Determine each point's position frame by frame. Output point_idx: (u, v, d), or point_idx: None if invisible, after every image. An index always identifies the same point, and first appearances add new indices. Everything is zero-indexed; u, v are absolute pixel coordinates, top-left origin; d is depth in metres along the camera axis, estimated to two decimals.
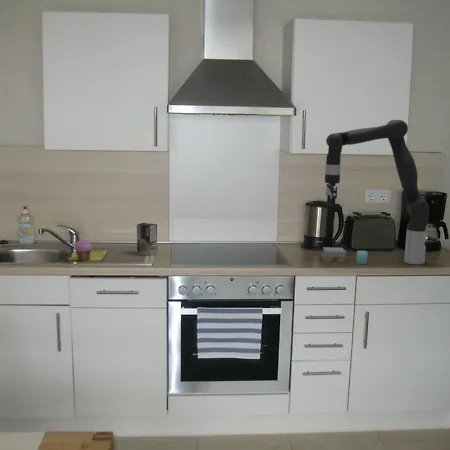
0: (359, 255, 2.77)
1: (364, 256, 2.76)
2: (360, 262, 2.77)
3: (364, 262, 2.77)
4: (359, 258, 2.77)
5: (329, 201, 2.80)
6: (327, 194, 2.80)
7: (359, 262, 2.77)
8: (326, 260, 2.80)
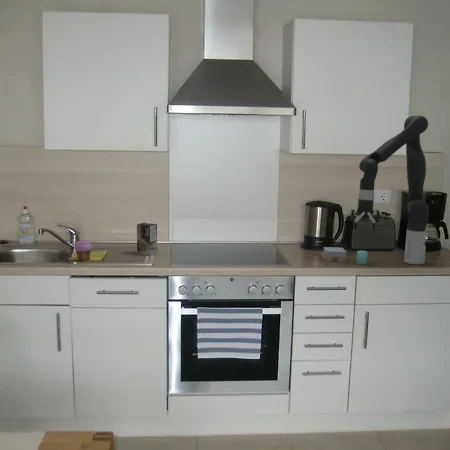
0: (359, 255, 2.77)
1: (364, 256, 2.76)
2: (360, 262, 2.77)
3: (364, 262, 2.77)
4: (359, 258, 2.77)
5: None
6: (357, 220, 2.74)
7: (359, 262, 2.77)
8: (326, 260, 2.80)
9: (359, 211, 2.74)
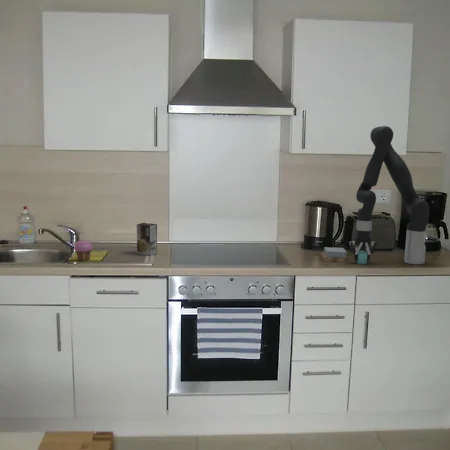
0: (359, 255, 2.77)
1: (364, 256, 2.76)
2: (360, 262, 2.77)
3: (364, 262, 2.77)
4: (359, 258, 2.77)
5: None
6: (357, 251, 2.77)
7: (359, 262, 2.77)
8: (326, 260, 2.80)
9: (357, 241, 2.76)
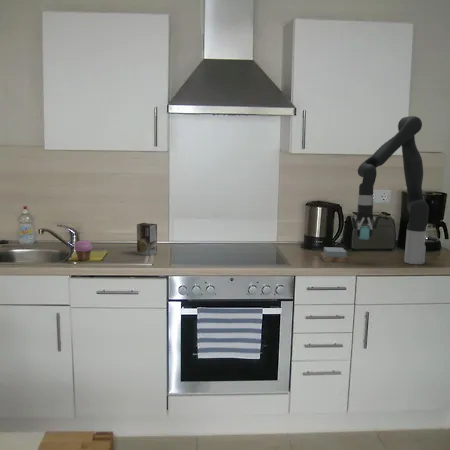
0: (361, 230, 2.74)
1: (366, 231, 2.74)
2: (362, 237, 2.75)
3: (366, 237, 2.74)
4: (361, 233, 2.75)
5: None
6: (359, 226, 2.75)
7: (361, 237, 2.75)
8: (326, 260, 2.80)
9: (359, 216, 2.74)
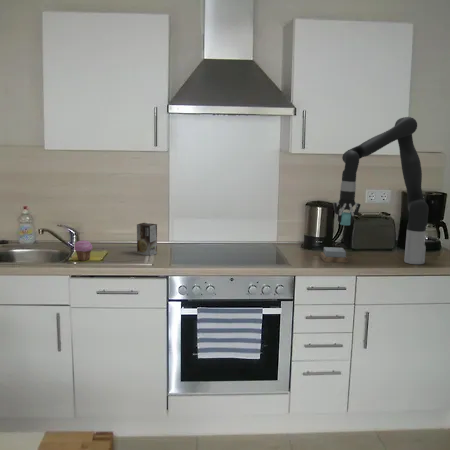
0: (343, 216, 2.77)
1: (348, 217, 2.77)
2: (343, 223, 2.78)
3: (347, 223, 2.77)
4: (343, 219, 2.78)
5: None
6: (341, 212, 2.78)
7: (342, 223, 2.78)
8: (326, 260, 2.80)
9: (341, 202, 2.77)
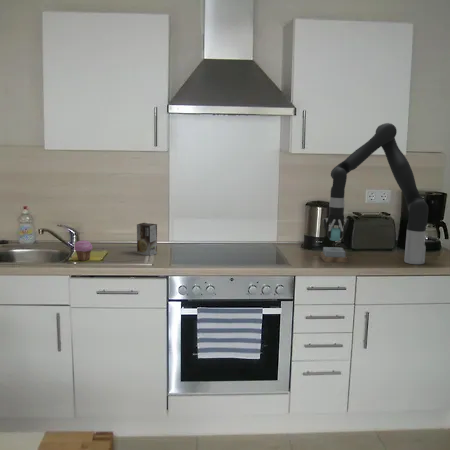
0: (332, 232, 2.82)
1: (337, 233, 2.81)
2: (333, 239, 2.82)
3: (337, 239, 2.82)
4: (332, 235, 2.82)
5: None
6: (330, 228, 2.82)
7: (332, 239, 2.82)
8: (326, 260, 2.80)
9: (330, 218, 2.81)
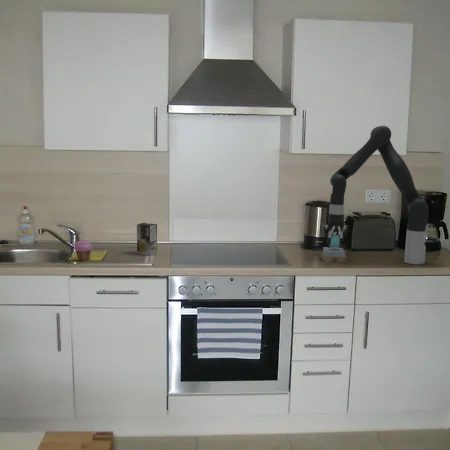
0: (332, 238, 2.82)
1: (336, 239, 2.82)
2: (333, 245, 2.82)
3: (336, 245, 2.82)
4: (332, 241, 2.82)
5: None
6: (330, 235, 2.82)
7: (332, 245, 2.83)
8: (326, 260, 2.80)
9: (330, 225, 2.82)
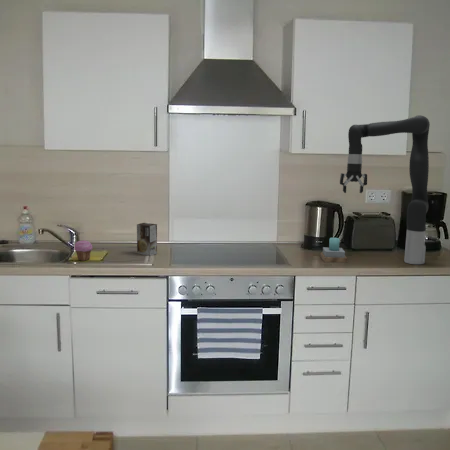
0: (331, 242, 2.83)
1: (336, 243, 2.82)
2: (332, 249, 2.83)
3: (336, 248, 2.83)
4: (331, 245, 2.83)
5: None
6: (346, 183, 2.90)
7: (332, 249, 2.83)
8: (326, 260, 2.80)
9: (348, 175, 2.89)
